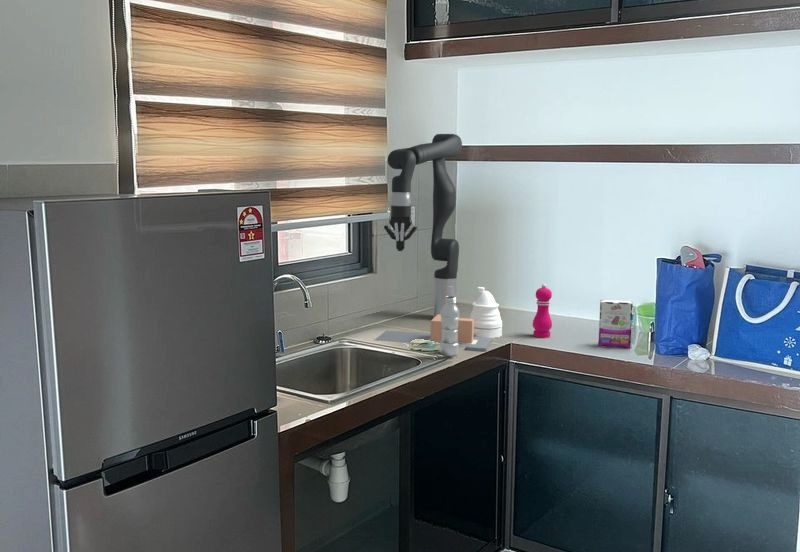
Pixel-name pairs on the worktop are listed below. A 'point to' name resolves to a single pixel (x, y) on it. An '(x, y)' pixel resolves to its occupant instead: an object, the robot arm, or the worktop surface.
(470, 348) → the board
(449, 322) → the plastic bottle
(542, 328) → the pepper mill
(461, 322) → the t block
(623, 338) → the candy bar box
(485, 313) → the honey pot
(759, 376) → the worktop surface
